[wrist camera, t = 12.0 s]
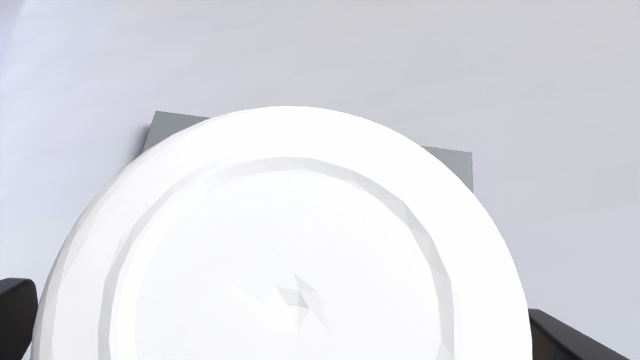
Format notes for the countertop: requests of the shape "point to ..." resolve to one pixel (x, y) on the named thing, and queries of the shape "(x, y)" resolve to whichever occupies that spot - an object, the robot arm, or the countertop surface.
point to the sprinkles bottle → (283, 252)
